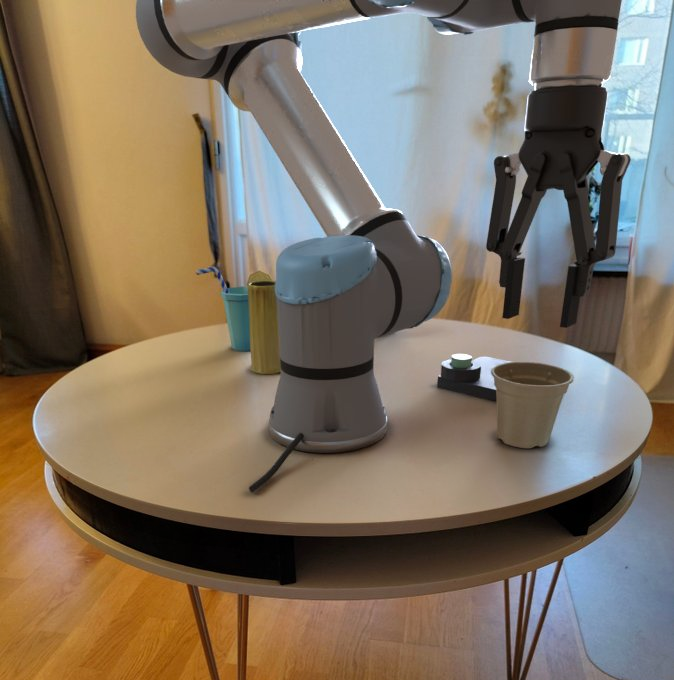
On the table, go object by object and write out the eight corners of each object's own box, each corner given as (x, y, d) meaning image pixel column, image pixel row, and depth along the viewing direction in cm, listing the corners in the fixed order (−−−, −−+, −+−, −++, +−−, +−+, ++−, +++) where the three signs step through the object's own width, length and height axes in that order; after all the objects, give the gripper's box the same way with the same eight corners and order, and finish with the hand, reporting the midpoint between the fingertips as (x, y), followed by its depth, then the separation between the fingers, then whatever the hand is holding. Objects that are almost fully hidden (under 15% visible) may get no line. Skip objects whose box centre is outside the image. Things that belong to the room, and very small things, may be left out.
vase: (282, 362, 107) (278, 278, 101) (291, 372, 102) (286, 285, 96) (248, 365, 106) (241, 281, 99) (254, 376, 100) (248, 287, 94)
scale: (513, 406, 86) (516, 383, 85) (432, 387, 94) (434, 365, 93) (555, 380, 96) (558, 359, 95) (479, 365, 104) (481, 344, 103)
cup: (201, 354, 112) (192, 270, 106) (206, 343, 119) (197, 263, 113) (278, 351, 113) (273, 268, 107) (278, 340, 120) (273, 261, 114)
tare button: (464, 370, 91) (465, 360, 91) (447, 367, 93) (447, 357, 93) (474, 366, 93) (475, 356, 93) (457, 362, 95) (458, 352, 95)
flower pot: (553, 425, 80) (563, 361, 76) (571, 456, 72) (583, 386, 68) (480, 423, 81) (486, 360, 77) (489, 454, 73) (496, 384, 69)
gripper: (685, 81, 57) (636, 326, 67) (497, 96, 68) (479, 304, 78) (661, 74, 52) (612, 341, 62) (462, 92, 63) (448, 315, 73)
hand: (538, 320), depth 70 cm, fingers open, 6 cm apart
